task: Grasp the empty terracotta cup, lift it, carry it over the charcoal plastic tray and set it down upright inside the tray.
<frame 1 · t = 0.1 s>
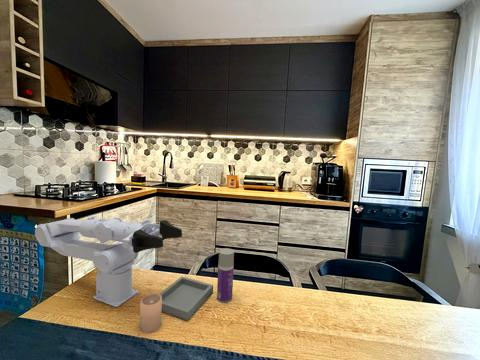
hand: (172, 237, 58), 22 cm above the table, tool horizontal, fingers open, 7 cm apart
cup: (151, 325, 57), on the table
tray: (184, 299, 67), on the table
container: (224, 298, 69), on the table
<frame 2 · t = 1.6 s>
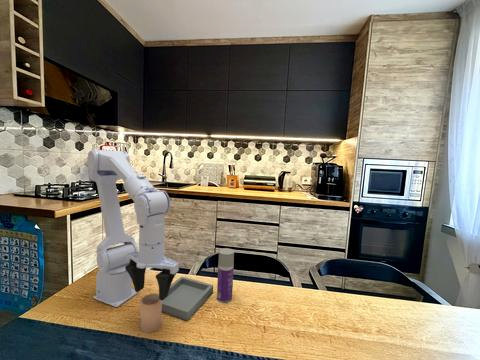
hand: (151, 293, 56), 8 cm above the table, tool pointing down, fingers open, 7 cm apart
nothing on the table moved.
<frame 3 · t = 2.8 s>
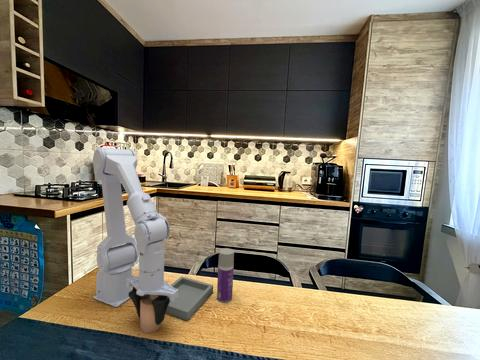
hand: (151, 318, 56), 2 cm above the table, tool pointing down, fingers closed on cup, 5 cm apart
cup: (151, 325, 57), on the table, touching gripper
everything else where it was.
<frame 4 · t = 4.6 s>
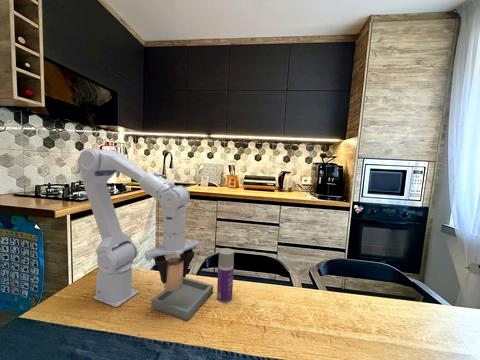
hand: (173, 278, 62), 9 cm above the table, tool pointing down, fingers closed on cup, 5 cm apart
cup: (173, 285, 62), point 7 cm above the table, touching gripper
everything else where it was.
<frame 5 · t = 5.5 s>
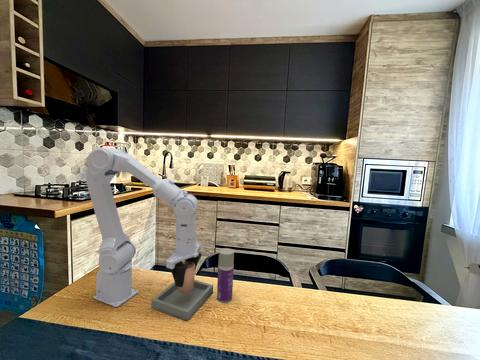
hand: (184, 281, 67), 6 cm above the table, tool pointing down, fingers closed on cup, 5 cm apart
cup: (185, 287, 67), point 4 cm above the table, touching gripper
everything else where it was.
when the fingers open (4 cm above the table, at t = 6.4 s): cup drops 1 cm, resting on tray.
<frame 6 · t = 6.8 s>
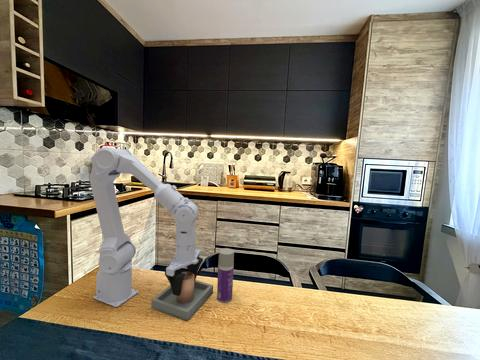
hand: (184, 287, 67), 4 cm above the table, tool pointing down, fingers open, 7 cm apart
cup: (185, 298, 67), point 1 cm above the table, touching tray
everything else where it was.
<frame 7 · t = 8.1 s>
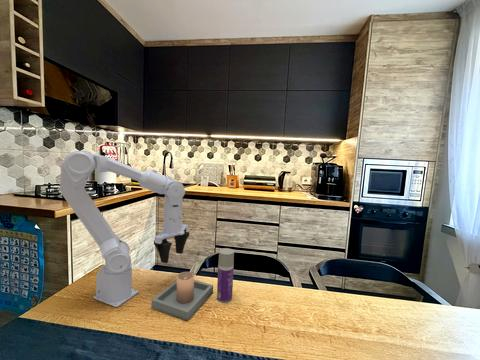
hand: (172, 257, 74), 9 cm above the table, tool pointing down, fingers open, 7 cm apart
nothing on the table moved.
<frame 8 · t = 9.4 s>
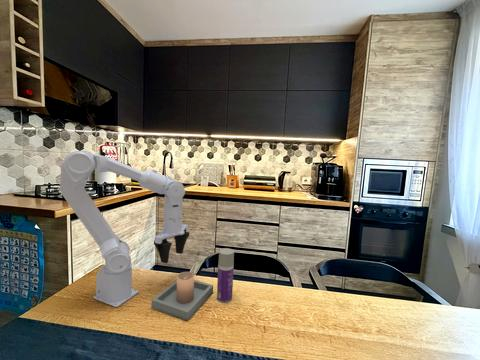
hand: (172, 257, 74), 9 cm above the table, tool pointing down, fingers open, 7 cm apart
nothing on the table moved.
at the end: cup inside the target area on the tray (0.3 cm from its centre), point 0.6 cm above the tray's base; cup tilted 0°; the gripper is holding nothing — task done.
